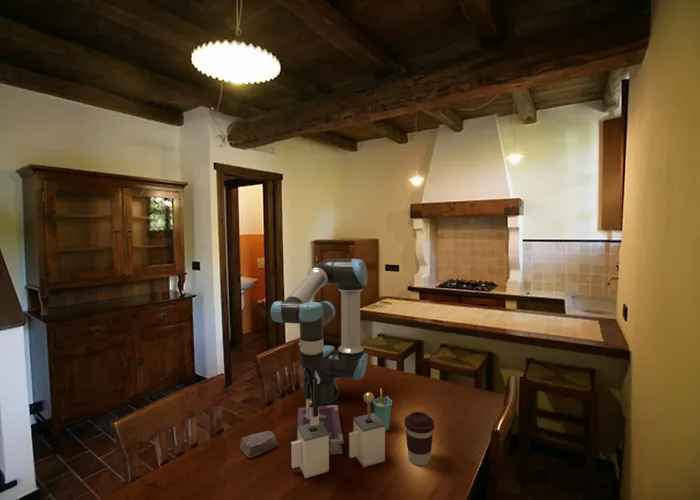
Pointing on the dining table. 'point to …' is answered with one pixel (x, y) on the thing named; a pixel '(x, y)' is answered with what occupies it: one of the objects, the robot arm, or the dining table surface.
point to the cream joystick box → (311, 450)
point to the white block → (367, 440)
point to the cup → (383, 409)
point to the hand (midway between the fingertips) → (312, 421)
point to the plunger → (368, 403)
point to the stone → (258, 443)
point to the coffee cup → (419, 437)
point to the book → (326, 425)
